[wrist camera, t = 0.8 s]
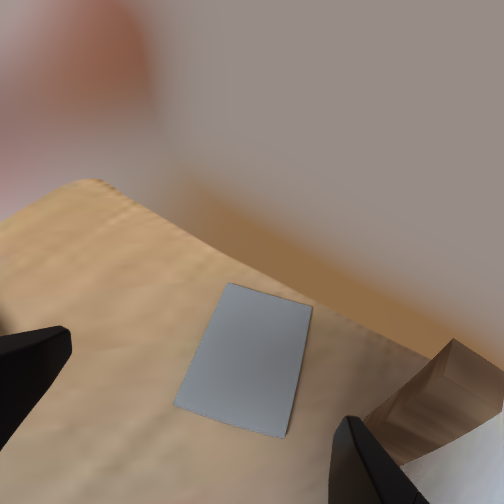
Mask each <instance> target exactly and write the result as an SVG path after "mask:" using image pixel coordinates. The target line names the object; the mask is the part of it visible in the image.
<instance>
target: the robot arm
mask: <svg viewBox="0 0 504 504" xmlns="http://www.w3.org/2000/svg"><path fill="white" fill-rule="evenodd" d="M71 354H72V342H71V333H70V331H69V330H68V329H67V328H65V327H63V326H54V327H48V328H43V329H38V330H33V331H27V332H22V333H16V334H11V335H5V336H0V451H1V450H2V448H3V447H4V445H5V444H6V443H7V441H8V440H9V439H10V437H11V436H12V435H13V433H14V432H15V431H16V429H17V428H18V427H19V426H20V424H21V423H22V422H23V420H24V419H25V418H26V417H27V415H28V414H29V413H30V411H31V410H32V409H33V408H34V406H35V405H36V404H37V403H38V401H39V400H40V399H41V398H42V396H43V395H44V394H45V393H46V391H47V390H48V389H49V388H50V386H51V385H52V383H53V382H54V380H55V379H56V377H57V376H58V374H59V373H60V371H61V370H62V368H63V367H64V365H65V364H66V362H67V361H68V359H69V358H70V356H71ZM328 504H430V503H429V502H428V501H427V500H426V499H425V498H424V496H423V495H422V494H421V493H420V492H419V491H418V489H417V488H416V487H415V486H414V484H413V483H412V482H411V481H410V480H409V478H408V477H407V476H406V475H405V474H404V472H403V471H402V470H401V469H400V467H399V466H398V465H397V464H396V463H395V461H394V460H393V459H392V458H391V456H390V455H389V454H388V453H387V451H386V450H385V449H384V448H383V447H382V445H381V444H380V443H379V442H378V440H377V439H376V438H375V437H374V435H373V434H372V433H371V432H370V430H369V429H368V428H367V427H366V425H365V424H364V423H363V422H362V420H361V419H360V418H359V417H356V416H345V417H344V418H343V420H342V422H341V423H340V425H339V427H338V428H337V430H336V432H335V434H334V437H333V445H332V454H331V463H330V471H329V484H328Z"/></svg>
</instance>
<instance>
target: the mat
mask: <svg viewBox="0 0 504 504" xmlns="http://www.w3.org/2000/svg"><path fill="white" fill-rule="evenodd" d="M311 309H312V307H311V306H307V305H303V304H300V303H296V302H293V301H289V300H285V299H282V298H278V297H275V296H271V295H268V294H265V293H261V292H258V291H254V290H251V289H247V288H244V287H241V286H237V285H234V284H231V283H227V285H226V287H225V289H224V292H223V294H222V296H221V298H220V300H219V303H218V305H217V307H216V309H215V311H214V314H213V316H212V318H211V320H210V322H209V325H208V327H207V329H206V331H205V333H204V336H203V338H202V340H201V342H200V345H199V347H198V349H197V351H196V353H195V356H194V358H193V360H192V362H191V365H190V367H189V369H188V371H187V374H186V376H185V378H184V380H183V383H182V385H181V387H180V389H179V392H178V394H177V396H176V398H175V401H174V405H175V406H177V407H180V408H182V409H185V410H188V411H191V412H193V413H196V414H199V415H202V416H205V417H208V418H211V419H214V420H217V421H220V422H223V423H226V424H230V425H233V426H236V427H240V428H243V429H247V430H250V431H254V432H258V433H261V434H265V435H269V436H273V437H278V438H282V439H283V438H284V437H285V433H286V429H287V425H288V421H289V417H290V413H291V408H292V404H293V399H294V395H295V390H296V386H297V381H298V377H299V372H300V367H301V362H302V357H303V352H304V347H305V342H306V337H307V331H308V326H309V320H310V315H311Z"/></svg>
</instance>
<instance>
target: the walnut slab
mask: <svg viewBox="0 0 504 504" xmlns="http://www.w3.org/2000/svg"><path fill="white" fill-rule="evenodd" d="M503 400H504V371H502V370H501V369H499V368H498V367H496V366H495V365H493V364H492V363H490V362H489V361H487V360H486V359H484V358H483V357H481V356H480V355H478V354H477V353H475V352H474V351H472V350H471V349H469V348H468V347H466V346H464V345H463V344H461V343H460V342H458V341H457V340H455V339H454V338H453V339H452V340H451V341H450V342H449V343H448V344H447V345H446V346H445V347H444V348H443V349H442V350H441V351H440V352H439V353H438V354H437V355H436V356H435V357H434V358H433V359H432V360H431V361H430V362H429V363H428V364H427V365H426V366H425V367H424V368H423V369H422V370H421V371H420V372H419V373H418V374H417V375H416V376H414V377H413V378H412V379H411V380H410V381H409V382H408V383H407V384H406V385H404V386H403V387H402V388H401V389H400V390H399V391H397V392H396V393H395V394H394V395H393V396H392V397H390V398H389V399H388V400H387V401H386V402H384V403H383V404H382V405H381V406H379V407H378V408H377V409H376V410H374V411H373V412H372V413H370V414H369V415H368V416H367V418H366V419H365V421H364V424H365V425H366V427H367V428H368V429H369V430H370V432H371V433H372V434H373V435H374V437H375V438H376V439H377V440H378V442H379V443H380V444H381V445H382V447H383V448H384V449H385V450H386V451H387V453H388V454H389V455H390V456H391V458H392V459H393V460H394V461H395V463H396V464H397V465H398V466H400V465H403V464H405V463H407V462H410V461H412V460H414V459H417V458H419V457H421V456H423V455H425V454H428V453H430V452H432V451H434V450H436V449H438V448H440V447H442V446H444V445H446V444H448V443H450V442H452V441H454V440H455V439H457V438H459V437H461V436H463V435H465V434H466V433H468V432H470V431H472V430H473V429H475V428H477V427H478V426H480V425H482V424H483V423H485V422H486V421H488V420H490V419H491V418H493V417H494V416H496V415H497V414H499V413H500V412H502V406H503Z"/></svg>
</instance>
